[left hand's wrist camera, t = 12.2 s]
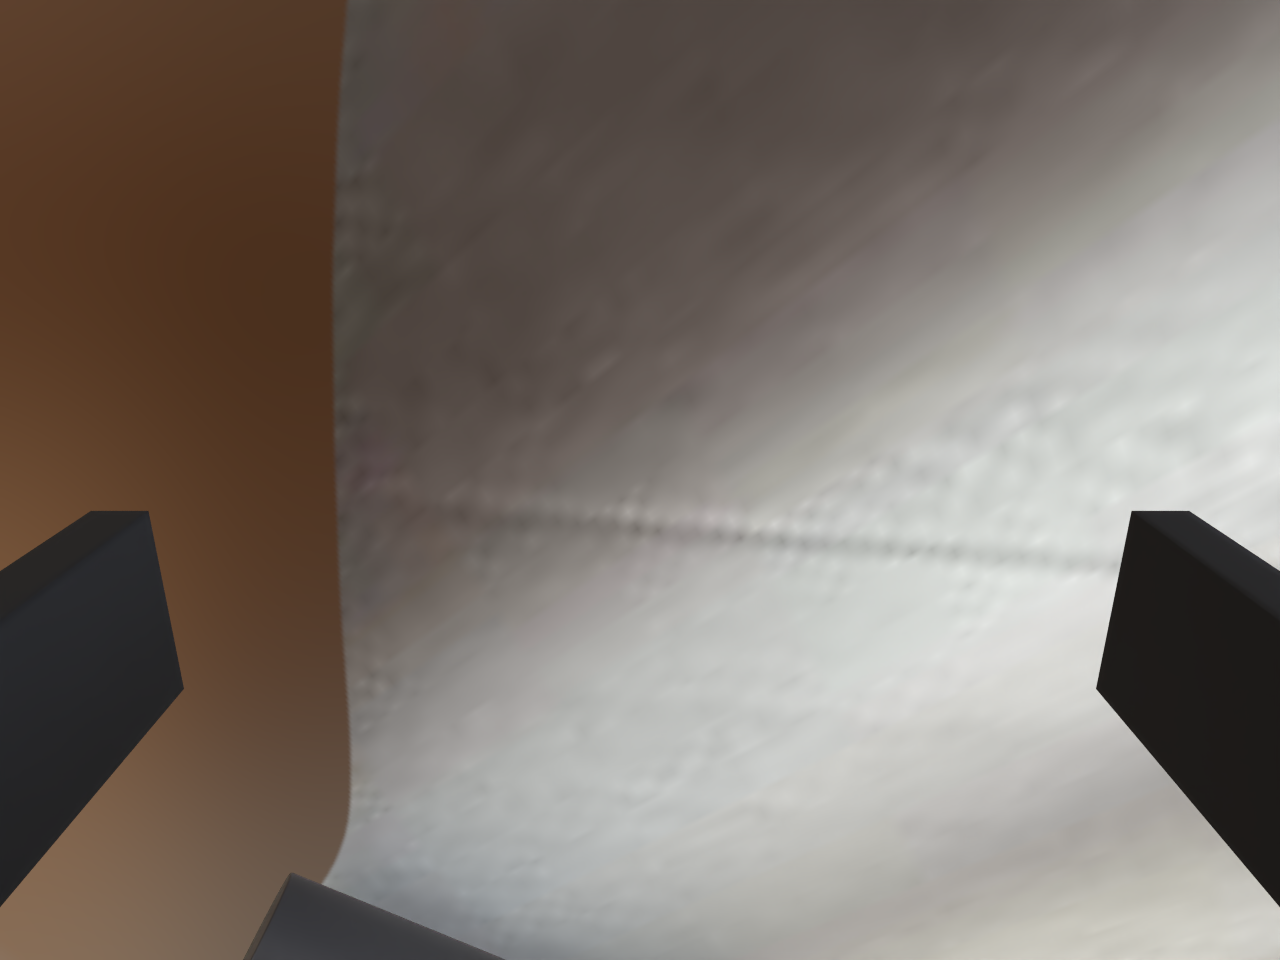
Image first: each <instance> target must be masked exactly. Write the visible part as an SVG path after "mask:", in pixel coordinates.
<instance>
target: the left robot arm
mask: <svg viewBox="0 0 1280 960" xmlns="http://www.w3.org/2000/svg"><path fill="white" fill-rule="evenodd" d="M183 689H184V687H183V682H182V677H181V672H180V667H179V662H178V657H177V652H176V647H175V642H174V637H173V632H172V627H171V622H170V617H169V612H168V607H167V602H166V597H165V592H164V587H163V582H162V577H161V572H160V567H159V562H158V557H157V552H156V547H155V542H154V537H153V532H152V527H151V522H150V517H149V512H148V511H90V512H89V513H87V514H86V515H84V516H83V517H81V518H80V519H78V520H77V521H75V522H74V523H72V524H71V525H69V526H68V527H66V528H65V529H63V530H62V531H60V532H59V533H57V534H56V535H54V536H53V537H51V538H50V539H48V540H46V541H45V542H43V543H42V544H41V545H39V546H37V547H36V548H34V549H33V550H31V551H30V552H28V553H27V554H25V555H24V556H22V557H21V558H19V559H18V560H16V561H15V562H13V563H12V564H10V565H9V566H7V567H6V568H4V569H3V570H1V571H0V907H1V905H2V904H3V903H4V902H5V901H6V899H7V898H8V897H9V896H10V895H11V893H12V892H13V891H14V890H15V889H16V888H17V886H18V885H19V884H20V883H21V882H22V880H23V879H24V878H25V877H26V876H27V874H28V873H29V872H30V871H31V870H32V869H33V867H34V866H35V865H36V864H37V863H38V861H39V860H40V859H41V858H42V857H43V855H44V854H45V853H46V852H47V851H48V850H49V848H50V847H51V846H52V845H53V844H54V842H55V841H56V840H57V839H58V838H59V836H60V835H61V834H62V833H63V832H64V830H65V829H66V828H67V827H68V826H69V824H70V823H71V822H72V821H73V820H74V819H75V817H76V816H77V815H78V814H79V813H80V812H81V810H82V809H83V808H84V807H85V806H86V804H87V803H88V802H89V801H90V800H91V798H92V797H93V796H94V795H95V794H96V793H97V791H98V790H99V789H100V788H101V787H102V785H103V784H104V783H105V782H106V781H107V779H108V778H109V777H110V776H111V775H112V774H113V772H114V771H115V770H116V769H117V768H118V766H119V765H120V764H121V763H122V762H123V760H124V759H125V758H126V757H127V756H128V754H129V753H130V752H131V751H132V750H133V749H134V747H135V746H136V745H137V744H138V743H139V741H140V740H141V739H142V738H143V737H144V735H145V734H146V733H147V732H148V731H149V729H150V728H151V727H152V726H153V725H154V724H155V722H156V721H157V720H158V719H159V718H160V716H161V715H162V714H163V713H164V712H165V711H166V709H167V708H168V707H169V706H170V705H171V703H172V702H173V701H174V700H175V699H176V697H177V696H178V695H179V694H180V693H181V691H182V690H183ZM1096 689H1097V690H1098V692H1099V693H1100V694H1101V695H1102V696H1103V697H1104V699H1105V700H1106V701H1107V702H1108V703H1109V705H1110V706H1111V707H1112V708H1113V709H1114V711H1115V712H1116V713H1117V714H1118V715H1119V716H1120V718H1121V719H1122V720H1123V721H1124V722H1125V724H1126V725H1127V726H1128V727H1129V728H1130V730H1131V731H1132V732H1133V733H1134V734H1135V735H1136V737H1137V738H1138V739H1139V740H1140V741H1141V743H1142V744H1143V745H1144V746H1145V747H1146V749H1147V750H1148V751H1149V752H1150V753H1151V755H1152V756H1153V757H1154V758H1155V759H1156V760H1157V762H1158V763H1159V764H1160V765H1161V766H1162V768H1163V769H1164V770H1165V771H1166V772H1167V774H1168V775H1169V776H1170V777H1171V778H1172V779H1173V781H1174V782H1175V783H1176V784H1177V785H1178V787H1179V788H1180V789H1181V790H1182V791H1183V793H1184V794H1185V795H1186V796H1187V797H1188V798H1189V800H1190V801H1191V802H1192V803H1193V804H1194V806H1195V807H1196V808H1197V809H1198V810H1199V812H1200V813H1201V814H1202V815H1203V816H1204V817H1205V819H1206V820H1207V821H1208V822H1209V823H1210V825H1211V826H1212V827H1213V828H1214V829H1215V831H1216V832H1217V833H1218V834H1219V835H1220V836H1221V838H1222V839H1223V840H1224V841H1225V842H1226V844H1227V845H1228V846H1229V847H1230V848H1231V850H1232V851H1233V852H1234V853H1235V854H1236V855H1237V857H1238V858H1239V859H1240V860H1241V861H1242V863H1243V864H1244V865H1245V866H1246V867H1247V869H1248V870H1249V871H1250V872H1251V873H1252V874H1253V876H1254V877H1255V878H1256V879H1257V880H1258V882H1259V883H1260V884H1261V885H1262V886H1263V888H1264V889H1265V890H1266V891H1267V892H1268V893H1269V895H1270V896H1271V897H1272V898H1273V899H1274V901H1275V902H1276V903H1277V904H1278V905H1279V907H1280V571H1279V570H1277V569H1276V568H1274V567H1273V566H1271V565H1270V564H1268V563H1267V562H1265V561H1264V560H1262V559H1261V558H1259V557H1258V556H1256V555H1255V554H1253V553H1252V552H1250V551H1249V550H1247V549H1246V548H1244V547H1243V546H1241V545H1240V544H1238V543H1237V542H1235V541H1234V540H1232V539H1230V538H1229V537H1227V536H1226V535H1224V534H1223V533H1221V532H1220V531H1218V530H1217V529H1215V528H1214V527H1212V526H1211V525H1209V524H1208V523H1206V522H1205V521H1203V520H1202V519H1200V518H1199V517H1197V516H1196V515H1194V514H1193V513H1191V512H1190V511H1132V512H1131V517H1130V522H1129V527H1128V532H1127V537H1126V542H1125V547H1124V552H1123V557H1122V562H1121V567H1120V572H1119V577H1118V582H1117V587H1116V592H1115V597H1114V602H1113V607H1112V612H1111V617H1110V622H1109V627H1108V632H1107V637H1106V642H1105V647H1104V652H1103V657H1102V662H1101V667H1100V672H1099V677H1098V682H1097V687H1096Z"/></svg>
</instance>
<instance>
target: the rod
mask: <svg viewBox="0 0 1280 960" xmlns="http://www.w3.org/2000/svg"><path fill="white" fill-rule="evenodd" d="M243 960H505V959H502V958H500V957H497V956H495V955H492V954H490V953H488V952H485V951H483V950H480V949H478V948H475V947H473V946H470V945H468V944H466V943H463V942H461V941H458V940H456V939H453V938H451V937H448V936H446V935H444V934H441V933H439V932H436V931H434V930H431V929H429V928H426V927H424V926H422V925H419V924H417V923H414V922H412V921H409V920H407V919H404V918H402V917H400V916H397V915H395V914H392V913H390V912H387V911H385V910H382V909H380V908H378V907H375V906H373V905H370V904H368V903H365V902H363V901H360V900H358V899H355V898H353V897H351V896H348V895H346V894H343V893H341V892H338V891H336V890H333V889H331V888H329V887H326V886H324V885H321V884H319V883H316V882H314V881H311V880H309V879H307V878H304V877H302V876H299V875H297V874H294V873H290V874H289V876H288V877H287V879H286V880H285V882H284V884H283V885H282V887H281V889H280V891H279V892H278V894H277V896H276V898H275V900H274V902H273V904H272V905H271V907H270V909H269V911H268V913H267V915H266V917H265V919H264V920H263V922H262V924H261V926H260V928H259V930H258V932H257V934H256V936H255V938H254V940H253V942H252V944H251V946H250V948H249V949H248V951H247V953H246V955H245V957H244V959H243Z"/></svg>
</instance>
